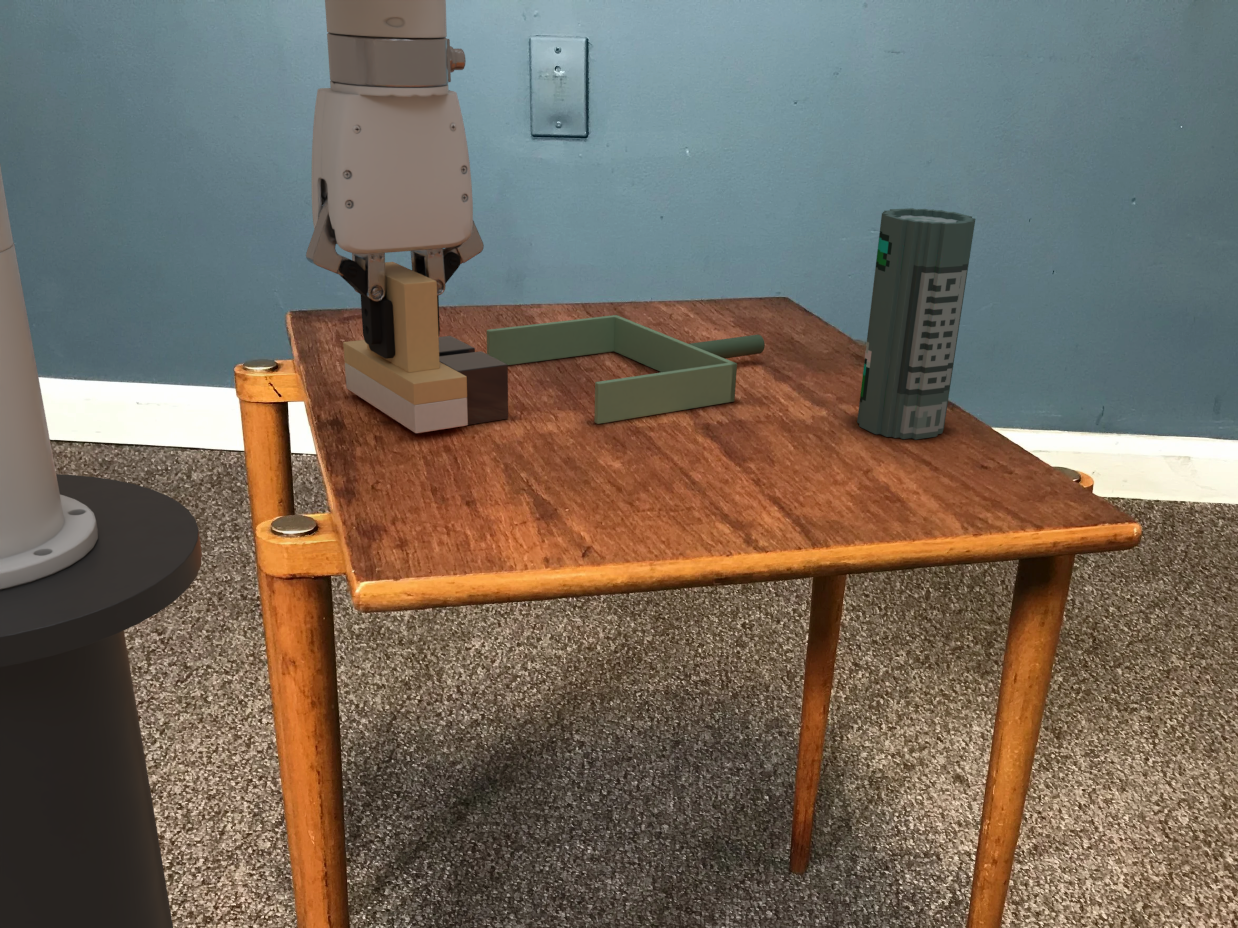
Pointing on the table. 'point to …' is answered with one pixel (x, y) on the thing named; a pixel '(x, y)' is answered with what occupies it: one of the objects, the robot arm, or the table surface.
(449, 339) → the black metallic cube
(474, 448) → the table surface
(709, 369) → the green u-shaped rake
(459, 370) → the black cube
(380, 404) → the wooden block stamp
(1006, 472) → the table surface
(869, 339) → the can
